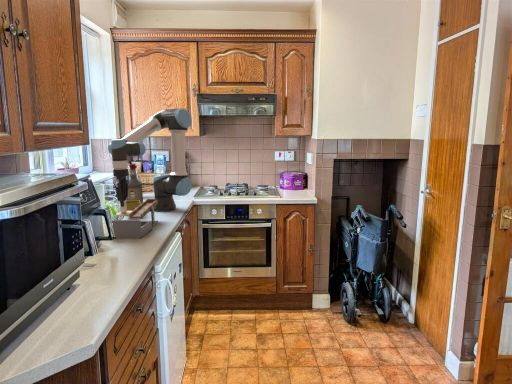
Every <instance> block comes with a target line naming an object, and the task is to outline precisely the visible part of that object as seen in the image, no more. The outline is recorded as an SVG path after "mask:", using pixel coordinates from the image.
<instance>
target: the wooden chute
mask: <svg viewBox="0 0 512 384" xmlns="http://www.w3.org/2000/svg"><path fill="white" fill-rule="evenodd" d="M157 204H158V202H157V200H156V199H155V198H146V200H143V203H142V204H141V205H139V206H138V207H137V208H136V209H135V210H133V211H127V212H126V213H121V210H119V211H118V212H117V213H116V214H115V216H116V217H129V216H130V217H129V219H136V218H139V219H144V218H145V217H146V216H147V215H148V214H149V213H151V208H154V209H155V208H156V205H157Z"/></svg>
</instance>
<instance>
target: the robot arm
mask: <svg viewBox="0 0 512 384" xmlns="http://www.w3.org/2000/svg"><path fill="white" fill-rule="evenodd" d="M191 125H192V115H191V114H190V113H189V111H188V110H187V109H185V108H166V109H162V110H160V111H158V112H156V113H155V114H153V115H151V116H150V117H149V118H148V120H147V121H146V122H144V123H143V124H141V125H140V126H138V127H137V128H135V129H134V130H132V131H131V132H130V133H127V134H126V135H124V137H122V138H121V139H120V138H119V139H118V138H117V139H115V138H113V139H111V141H110V143H109V144H108V146H107V150H108V153H109V154H110V155H111V160H112V161H111V164H112V169H113V170H112V174H113V177H114V178H116V180H115V181H116V182H114V183H113V186H114V188H115V194H116V199H117V202H118V201H119V206H120V211H121V213H126V212H127V208H126V201H127V200H128V199H127V198H128V183H129V180H130V179H127V177H128V176H129V165H128V164H129V163H128V157H129V158H130V157H141V156H143V155H145V153H146V151H147V150H146V145H145V144H144V143H143V142H142V141H144V140H145V139H147V138H149V136H151V135H152V134H154V133H155V132H160V131H161V130H163V129H168V132H169V133H170V134H171V135H170V136H171V137H170V146H171V149H170V150H171V153H170V154H171V155H170V156H171V172H170V173H166V174H164V173H163V174H158V175H154V176H153V182H152V183H153V195H154V199H156V200H157V202H158V204H157V205H156V208H155V209H154V212H163V213H164V212H171V211H174V210H176V209H177V205H176V202H175V200H174V197H173V196H178V197H182V196H183V197H184V196H187V195H189V193H190V192H191V190H192V187H193V183H192V180H191V178H189V174H188V172H187V171H186V133H188V128H190V127H191Z"/></svg>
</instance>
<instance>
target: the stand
mask: <svg viewBox="0 0 512 384" xmlns="http://www.w3.org/2000/svg"><path fill="white" fill-rule="evenodd" d="M136 208H137V207H136ZM136 208H135V209H136ZM150 215H151V217H150V218H151V220H140V218H135V220H140V221H141V222H149V221H151V222H152V228H154V227H155V226H156V225H158V224H159V220H155V211H154V208H151V212H150Z"/></svg>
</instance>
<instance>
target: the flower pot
mask: <svg viewBox="0 0 512 384" xmlns="http://www.w3.org/2000/svg"><path fill="white" fill-rule="evenodd" d="M139 205H140V200H135V201H127V200H126V208H127V211H133V210H135V208H136V207H138V206H139ZM128 217H129V218H130V216H128Z"/></svg>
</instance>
